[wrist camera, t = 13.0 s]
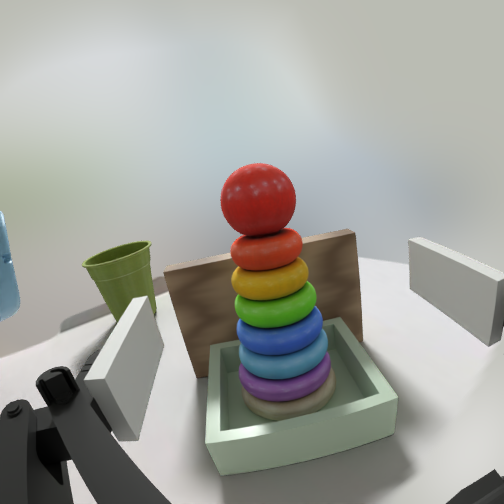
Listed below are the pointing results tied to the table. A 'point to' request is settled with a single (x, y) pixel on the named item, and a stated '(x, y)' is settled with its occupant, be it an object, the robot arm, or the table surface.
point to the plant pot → (123, 275)
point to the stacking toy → (274, 299)
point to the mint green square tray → (303, 427)
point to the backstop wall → (223, 294)
